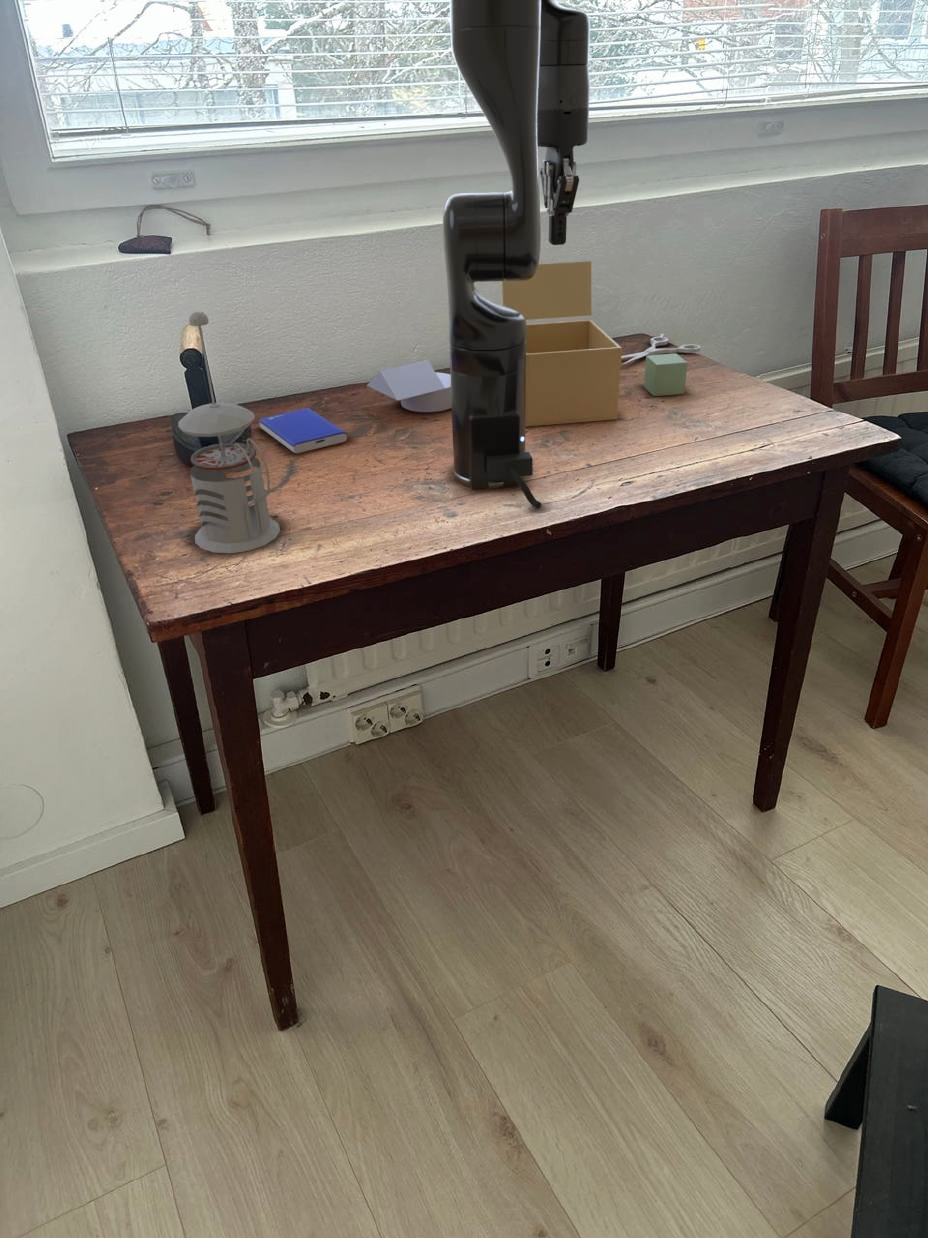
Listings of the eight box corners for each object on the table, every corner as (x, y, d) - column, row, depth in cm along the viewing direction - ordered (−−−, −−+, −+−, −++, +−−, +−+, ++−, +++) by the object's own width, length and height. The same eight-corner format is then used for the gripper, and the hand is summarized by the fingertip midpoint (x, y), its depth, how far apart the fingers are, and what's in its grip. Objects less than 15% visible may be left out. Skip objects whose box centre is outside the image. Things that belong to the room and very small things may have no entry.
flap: (503, 321, 137) (503, 320, 138) (591, 315, 139) (590, 315, 139) (501, 266, 134) (501, 266, 135) (591, 260, 136) (590, 260, 136)
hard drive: (258, 418, 132) (292, 443, 123) (309, 407, 135) (346, 430, 126) (260, 428, 132) (294, 454, 124) (310, 417, 136) (347, 441, 127)
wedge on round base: (399, 422, 133) (469, 403, 139) (395, 377, 130) (468, 360, 136) (368, 406, 139) (437, 389, 146) (364, 363, 136) (435, 347, 142)
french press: (246, 507, 110) (209, 295, 96) (307, 534, 103) (277, 311, 89) (177, 536, 103) (127, 314, 90) (238, 567, 97) (194, 333, 83)
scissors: (709, 344, 160) (634, 367, 149) (708, 348, 160) (634, 372, 150) (662, 333, 167) (588, 354, 156) (662, 337, 167) (588, 359, 157)
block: (684, 393, 140) (687, 362, 138) (653, 396, 140) (656, 364, 137) (673, 384, 145) (676, 353, 142) (643, 386, 144) (646, 355, 141)
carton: (503, 392, 144) (503, 325, 138) (588, 385, 145) (591, 319, 139) (524, 426, 130) (524, 354, 125) (617, 419, 132) (622, 347, 126)
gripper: (523, 104, 124) (522, 237, 134) (544, 108, 113) (541, 253, 122) (575, 102, 125) (571, 235, 134) (601, 105, 114) (595, 250, 123)
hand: (557, 243), depth 128 cm, fingers closed
